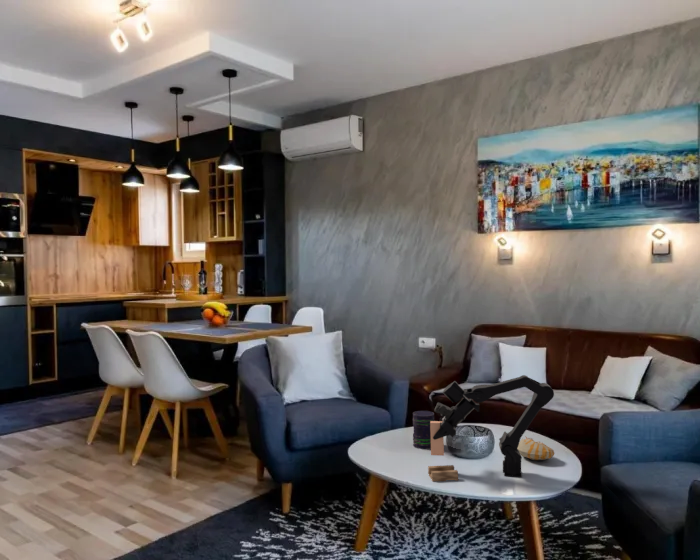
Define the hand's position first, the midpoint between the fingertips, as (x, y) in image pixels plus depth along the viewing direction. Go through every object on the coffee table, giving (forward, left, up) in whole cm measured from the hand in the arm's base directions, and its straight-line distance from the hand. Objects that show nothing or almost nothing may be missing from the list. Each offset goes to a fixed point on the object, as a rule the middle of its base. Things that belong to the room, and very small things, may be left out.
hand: (433, 437), depth 228 cm
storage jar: (+7, -32, -14) cm, 35 cm away
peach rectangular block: (-1, 0, -7) cm, 7 cm away
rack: (-4, +6, -13) cm, 15 cm away
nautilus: (-40, -25, -14) cm, 49 cm away
